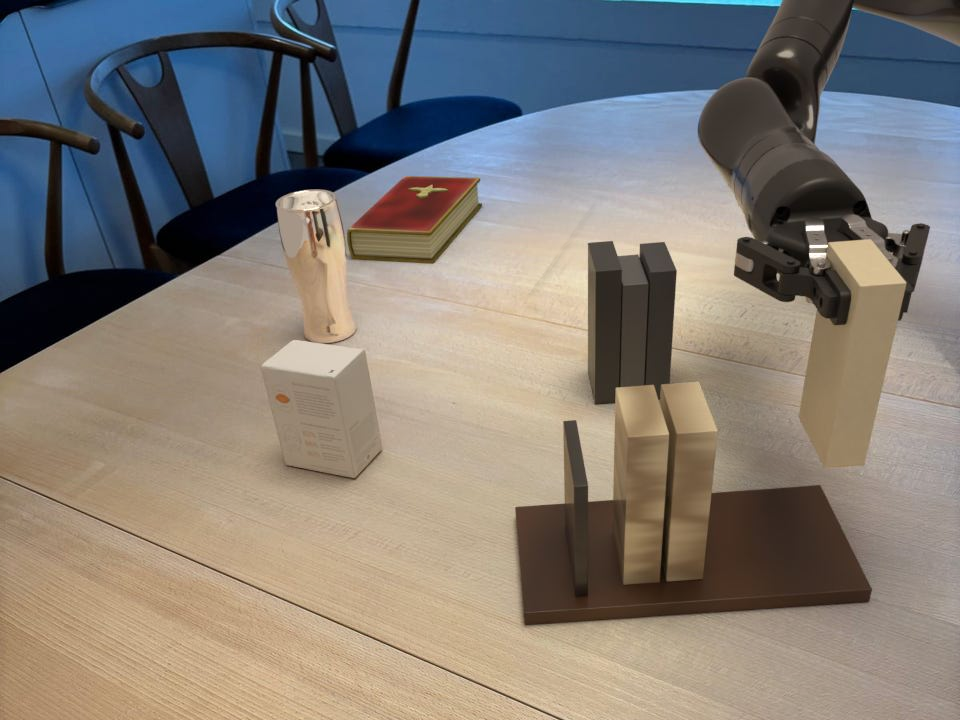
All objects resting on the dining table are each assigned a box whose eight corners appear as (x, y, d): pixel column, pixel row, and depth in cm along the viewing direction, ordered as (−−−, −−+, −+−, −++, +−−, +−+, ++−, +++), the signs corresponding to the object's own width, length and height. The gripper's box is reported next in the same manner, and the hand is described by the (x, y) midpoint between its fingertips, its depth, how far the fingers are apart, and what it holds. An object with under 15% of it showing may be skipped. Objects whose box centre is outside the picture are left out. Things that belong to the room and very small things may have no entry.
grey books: (658, 366, 103) (665, 236, 94) (668, 398, 98) (677, 264, 89) (587, 371, 103) (587, 242, 94) (594, 404, 98) (595, 271, 89)
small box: (384, 450, 95) (367, 348, 87) (355, 480, 91) (335, 377, 84) (314, 436, 97) (292, 337, 90) (283, 466, 94) (258, 364, 87)
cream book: (835, 414, 73) (871, 238, 64) (864, 465, 68) (907, 282, 59) (798, 416, 73) (828, 242, 64) (823, 468, 68) (860, 286, 59)
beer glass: (371, 325, 115) (351, 193, 105) (333, 350, 111) (308, 214, 101) (327, 314, 119) (303, 185, 108) (288, 338, 114) (259, 205, 104)
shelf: (818, 496, 84) (848, 340, 74) (869, 601, 73) (911, 436, 64) (515, 518, 85) (506, 366, 75) (524, 625, 74) (515, 465, 65)
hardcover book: (350, 258, 131) (344, 226, 128) (405, 203, 146) (402, 173, 143) (433, 263, 128) (430, 230, 125) (482, 206, 142) (480, 175, 140)
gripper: (712, 165, 72) (767, 258, 59) (905, 149, 71) (1003, 239, 58) (703, 266, 77) (752, 372, 64) (884, 252, 76) (969, 356, 63)
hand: (871, 308), depth 61 cm, fingers closed on cream book, 3 cm apart
